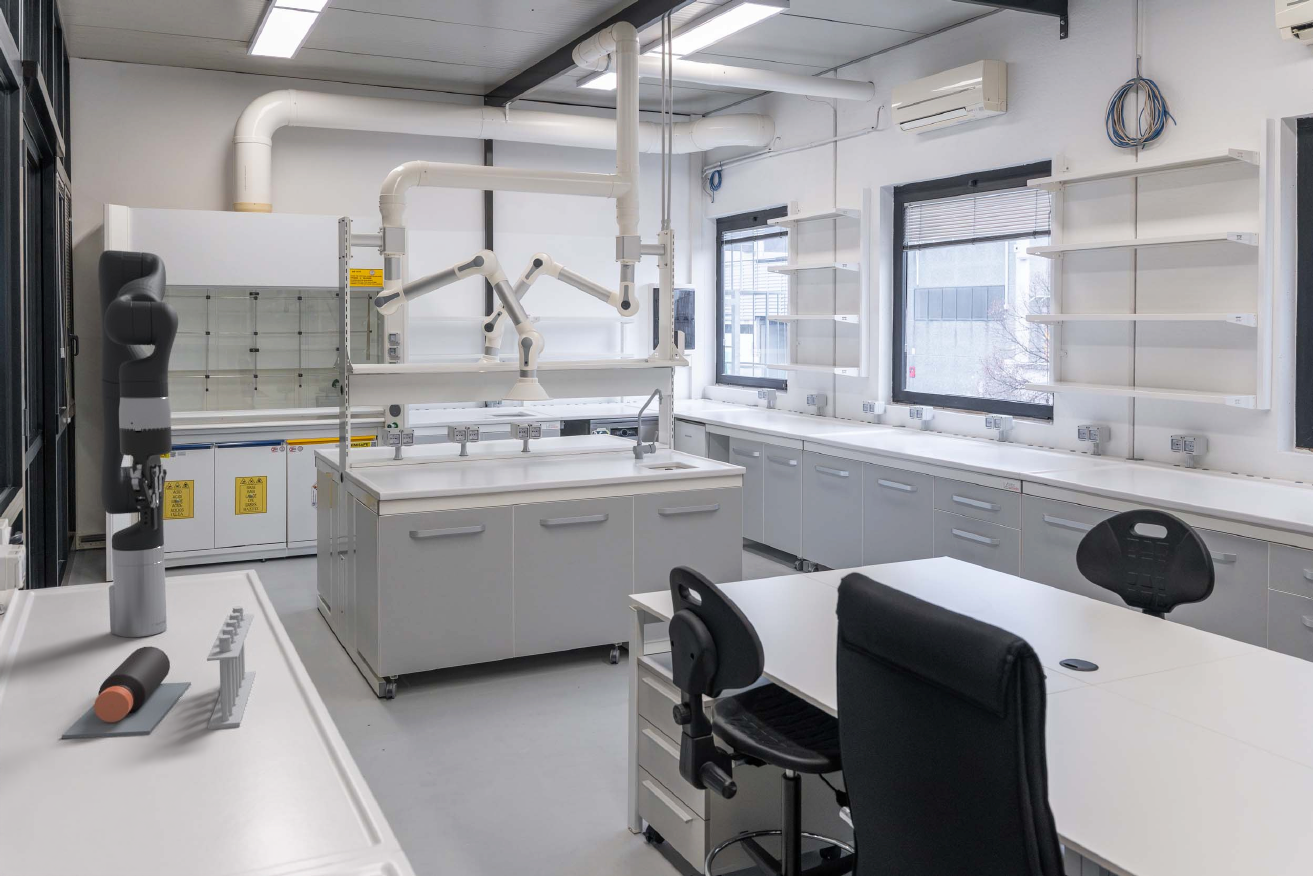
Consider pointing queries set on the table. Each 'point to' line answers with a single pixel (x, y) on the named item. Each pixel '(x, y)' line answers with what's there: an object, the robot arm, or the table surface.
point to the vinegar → (131, 684)
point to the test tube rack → (232, 670)
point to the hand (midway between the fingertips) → (149, 530)
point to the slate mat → (131, 716)
